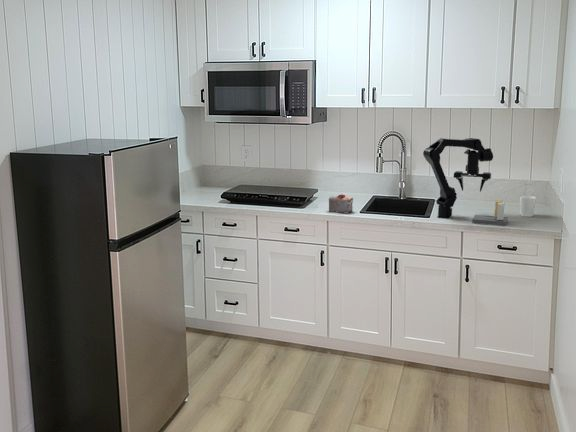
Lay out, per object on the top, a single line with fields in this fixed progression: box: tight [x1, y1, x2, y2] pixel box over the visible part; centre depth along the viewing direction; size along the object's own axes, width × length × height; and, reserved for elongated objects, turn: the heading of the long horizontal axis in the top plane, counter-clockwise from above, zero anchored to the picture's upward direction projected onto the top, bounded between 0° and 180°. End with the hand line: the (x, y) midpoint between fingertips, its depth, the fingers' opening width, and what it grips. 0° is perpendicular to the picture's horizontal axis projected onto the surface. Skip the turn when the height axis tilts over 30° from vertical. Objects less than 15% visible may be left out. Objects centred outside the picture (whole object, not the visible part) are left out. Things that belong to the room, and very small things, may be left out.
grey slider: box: [497, 202, 505, 220], centre depth 295 cm, size 3×4×8 cm
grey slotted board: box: [471, 214, 509, 227], centre depth 300 cm, size 16×12×2 cm
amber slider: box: [494, 199, 504, 217], centre depth 301 cm, size 3×4×8 cm
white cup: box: [519, 195, 537, 218], centre depth 312 cm, size 8×8×10 cm
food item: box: [328, 194, 354, 213], centre depth 330 cm, size 14×8×10 cm, turn 66°
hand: (471, 191), depth 315 cm, fingers open, 9 cm apart
